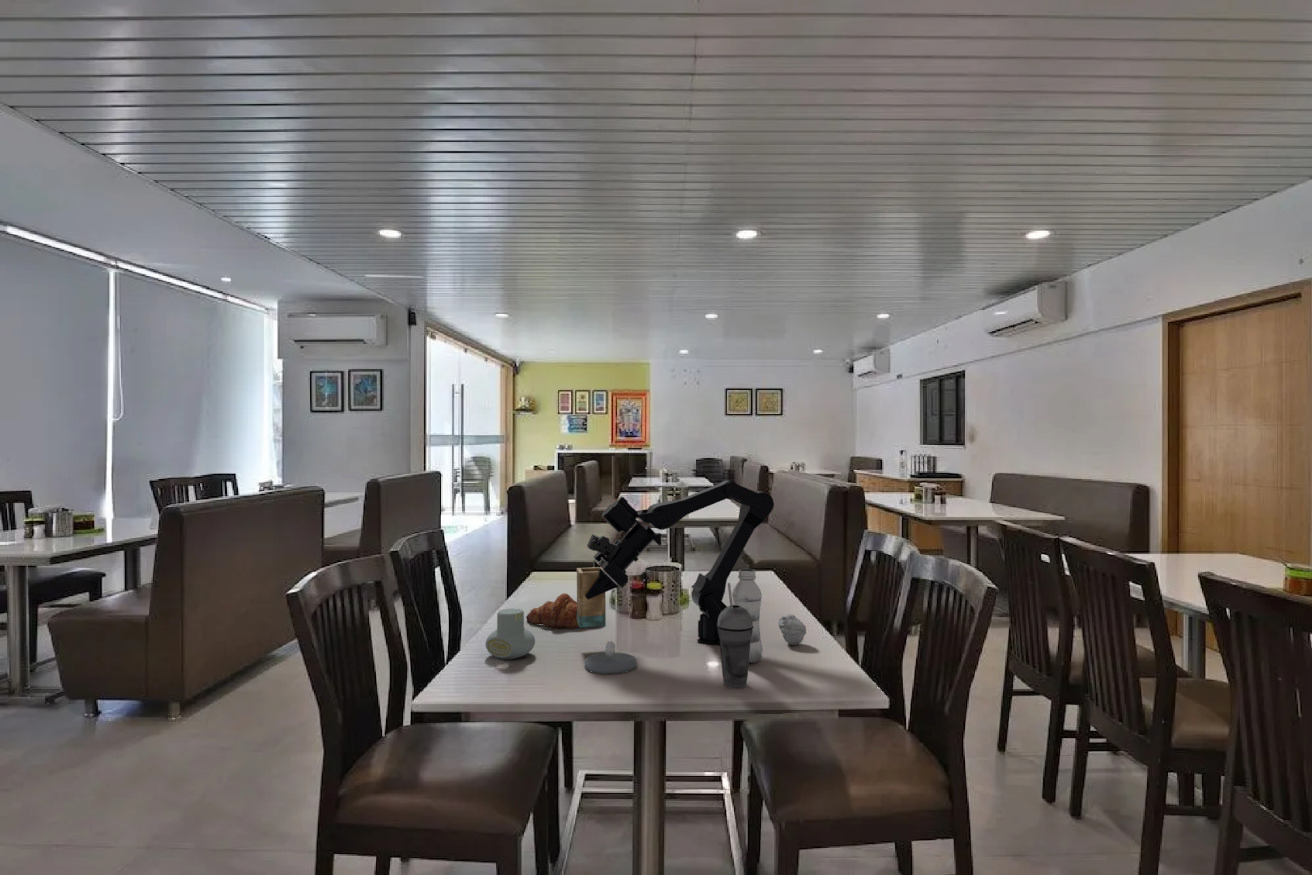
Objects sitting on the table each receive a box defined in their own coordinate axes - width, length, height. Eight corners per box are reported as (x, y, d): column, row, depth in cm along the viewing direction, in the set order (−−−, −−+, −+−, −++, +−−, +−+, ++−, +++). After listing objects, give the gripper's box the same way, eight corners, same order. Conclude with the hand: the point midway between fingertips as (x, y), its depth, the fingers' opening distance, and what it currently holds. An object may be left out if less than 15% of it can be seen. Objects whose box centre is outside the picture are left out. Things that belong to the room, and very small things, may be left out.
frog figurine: (787, 638, 165) (787, 610, 165) (812, 644, 160) (812, 615, 160) (772, 643, 160) (772, 614, 160) (797, 650, 155) (797, 619, 155)
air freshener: (541, 653, 153) (541, 609, 153) (519, 664, 145) (519, 617, 146) (502, 647, 157) (502, 605, 158) (479, 657, 150) (479, 612, 150)
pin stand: (644, 661, 147) (644, 637, 147) (621, 677, 137) (621, 651, 137) (600, 655, 151) (600, 632, 152) (575, 669, 141) (575, 645, 142)
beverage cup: (752, 692, 128) (752, 587, 129) (714, 689, 130) (714, 586, 130) (754, 679, 135) (754, 580, 136) (718, 677, 137) (718, 579, 137)
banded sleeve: (602, 619, 160) (601, 566, 160) (605, 625, 154) (605, 571, 155) (577, 620, 159) (576, 568, 159) (579, 627, 153) (579, 572, 153)
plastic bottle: (744, 668, 143) (743, 573, 143) (726, 659, 149) (726, 568, 149) (768, 663, 146) (768, 571, 146) (750, 655, 152) (750, 566, 152)
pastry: (582, 614, 190) (582, 585, 190) (606, 626, 177) (606, 596, 177) (525, 622, 182) (525, 592, 182) (546, 635, 168) (546, 603, 168)
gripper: (602, 518, 167) (557, 564, 164) (613, 527, 149) (563, 579, 146) (633, 549, 169) (589, 595, 166) (648, 561, 150) (599, 613, 148)
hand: (585, 594), depth 156 cm, fingers closed on banded sleeve, 6 cm apart
